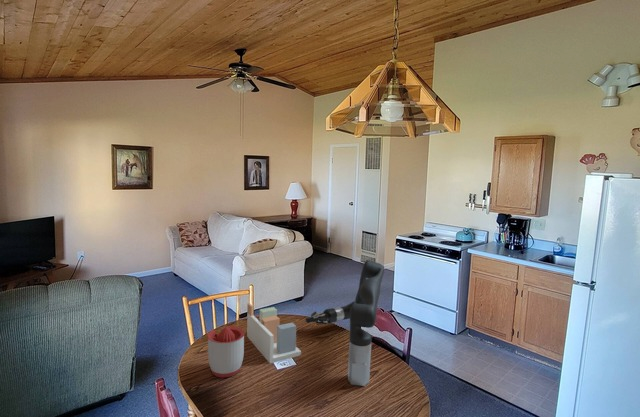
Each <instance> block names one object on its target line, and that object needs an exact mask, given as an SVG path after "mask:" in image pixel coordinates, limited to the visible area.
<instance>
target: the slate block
mask: <svg viewBox="0 0 640 417" xmlns="http://www.w3.org/2000/svg"><path fill="white" fill-rule="evenodd" d="M296 347H297V325H296V324H295V323H294V322H289V323H283V324H280V325H278V326H277V351H278V352H279V353H280V354H282V353H286V352H290V351H294V350H296Z"/></svg>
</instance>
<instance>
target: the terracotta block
mask: <svg viewBox="0 0 640 417" xmlns="http://www.w3.org/2000/svg"><path fill="white" fill-rule="evenodd" d="M280 320H281V318H280V317H278V315H277V316H271V317H266V318H261V323H262V324H263V325H264V326H265V327H266V328H267V329H268V330H269V331H270V332H271V333H272V334H273V335H274V343H277V326H278V325H281V323H280V322H281V321H280Z"/></svg>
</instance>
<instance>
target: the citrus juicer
mask: <svg viewBox="0 0 640 417" xmlns="http://www.w3.org/2000/svg"><path fill="white" fill-rule="evenodd" d="M245 334H246V332H245V331H244V329H242V328H241V327H239V326H232V325H228V326H226V325H225V326H224V328H223V329H222V330H221V331H220V332H219V333H216V330H214V329H211V330H210V331H209V332H208V333H207V358H208V365H209V368H210V370H211V372H212V374H213V375H214V376H216V377H218V378H220V379H221V378H230V377H233V376H235V375H237V374H238V373H239V372H240V370H241V368H242V364H243V360H244V353H245Z"/></svg>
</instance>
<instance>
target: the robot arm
mask: <svg viewBox="0 0 640 417" xmlns="http://www.w3.org/2000/svg"><path fill="white" fill-rule="evenodd" d="M384 274H385V266H384V265H383V264H381V263H379V262H376V261H373V260H370V259H367V260H365V262H364V263H363V266H362V270H361V272H360V278H359V284H358V290H357V293H356V296H355V300H354V301H352V302H350V303H348V304H347V305H344V306H338V307H337V306H335V307H331V308H326V309H324V311H323V312H319V313H318V312H317V311H314V312H312V313H311V315H310V316H309V317H306V318H305V322H306V323H307V324H309V323H315V324H320V325H321V324H322V325H328V324H332V323H336V322H340V321H343V320H348V319H349V345H348V360H347V362H348V364H347V365H348V366H347V367H348V368H347V381H348V382H349V383H350V385H351V386H358V387H359V386H361V387H366V386H367V384H369V382H370V376H371V375H370V374H371V373H370V372H371V371H370V370H371V358H372V356H371V355H372V340H373V339H372V335H371V333H370V332H368V331H366V330H365V329H363V328H367V329H370V328H374V327H375V325H376V322H377V314H378V313H377V312H378V302H379V298H380V293H381V285H382V281H383V277H384Z"/></svg>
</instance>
